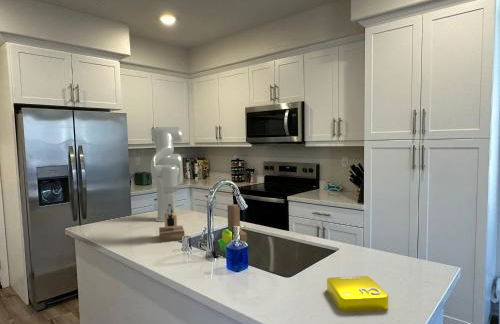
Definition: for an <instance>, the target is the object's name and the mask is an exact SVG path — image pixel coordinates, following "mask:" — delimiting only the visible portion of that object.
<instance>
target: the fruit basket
mask: <svg viewBox="0 0 500 324" xmlns="http://www.w3.org/2000/svg"><path fill="white" fill-rule="evenodd" d="M231 240H232V232H230V231H229V230H228V228H225V229H223V230H222V232H221V238H220V239H218V240H217V242H218V245H219V248H220V251H221V252H223V253H225V254H227V253H226V246H227V244H228V243H229V242H230V241H231ZM244 242H245V241H244ZM245 243H246V242H245Z"/></svg>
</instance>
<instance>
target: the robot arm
mask: <svg viewBox="0 0 500 324" xmlns="http://www.w3.org/2000/svg"><path fill="white" fill-rule="evenodd" d="M150 134H151V138H152V141H153V143H154V146H155V153H154V154H153V156H152V158H151V160H150V171H151V172H150V173H151V177H152V178H153V179H154V181H155V188H156V203H157V207H156V208H157V209H156V210H157V217H155V219H154V221H155V222H160V223H165V220H164V216H165V213H167V226H174V218H173V213H175V211H176V194H177V193H178V191H179V190H178V186H179V185H180V186H181V185H182V183H183V182H184V181H183V179H184V175H183V174H184V172H183V158H182V155H181V154H179V153H174V152H175V150H174V149H175V147H174V143H177V144H178V143H179V144H180V143H182V141H183V138H184V137H183V136H184V134H183V131H182V129H181V128H180V127H177V126H174V127H173V126H170V127H169V126H166V127H165V126H159V127H154V128H152V129H151V133H150ZM171 213H172V214H171Z"/></svg>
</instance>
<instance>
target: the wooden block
mask: <svg viewBox="0 0 500 324" xmlns="http://www.w3.org/2000/svg"><path fill="white" fill-rule="evenodd" d="M238 205H239V204H236V203H235V204H234V203H232V204H228V205H226V206H227V229H228V230H229V231H230V232H232V227H233V226H240V237H241V238H240V239H241V240H242V241H245V243H247V242H248V233H247V232H245V231H243V230H242V228H241V214H240V212H241V211H240V210H241V208H239V207H238Z"/></svg>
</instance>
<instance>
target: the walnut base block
mask: <svg viewBox="0 0 500 324" xmlns="http://www.w3.org/2000/svg"><path fill="white" fill-rule="evenodd" d="M158 230H159V232H158V233H159V243H160V244H162V242H163V243H171V242H172V241H173V242H180V241H181V240H182V237H183V236H184V237H185V230H184V227H183V225H177V227H165V226H162V227H159V228H158ZM182 241H183V240H182Z"/></svg>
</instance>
